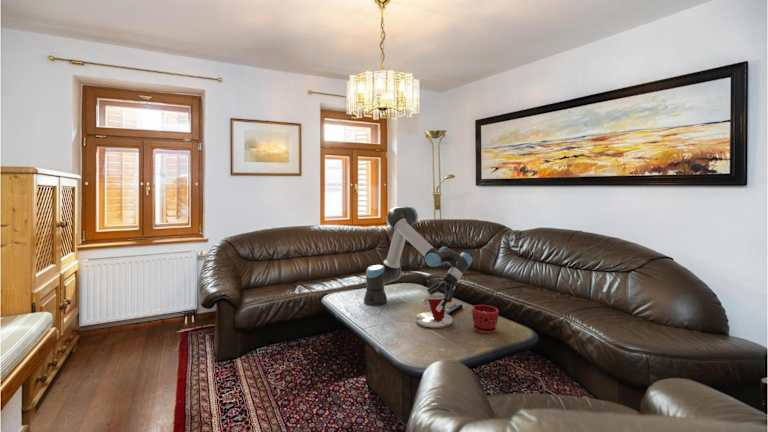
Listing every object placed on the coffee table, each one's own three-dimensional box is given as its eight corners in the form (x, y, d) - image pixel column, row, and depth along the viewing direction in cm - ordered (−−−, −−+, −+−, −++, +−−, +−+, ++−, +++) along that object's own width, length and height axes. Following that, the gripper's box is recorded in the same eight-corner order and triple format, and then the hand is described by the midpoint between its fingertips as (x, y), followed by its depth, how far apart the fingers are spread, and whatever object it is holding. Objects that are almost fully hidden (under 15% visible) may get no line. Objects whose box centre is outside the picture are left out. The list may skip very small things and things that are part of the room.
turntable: (409, 318, 209) (409, 315, 209) (438, 312, 218) (438, 309, 218) (428, 330, 191) (428, 327, 191) (459, 323, 200) (459, 320, 200)
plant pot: (494, 337, 184) (494, 314, 183) (468, 332, 191) (468, 309, 190) (501, 328, 195) (501, 306, 194) (476, 324, 202) (476, 302, 201)
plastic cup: (448, 319, 196) (445, 297, 197) (428, 321, 199) (425, 298, 199) (450, 315, 206) (447, 293, 207) (431, 316, 209) (428, 295, 210)
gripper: (470, 286, 199) (447, 317, 193) (443, 275, 221) (422, 304, 216) (463, 277, 196) (439, 309, 191) (436, 268, 218) (414, 296, 213)
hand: (430, 306), depth 203 cm, fingers open, 13 cm apart
